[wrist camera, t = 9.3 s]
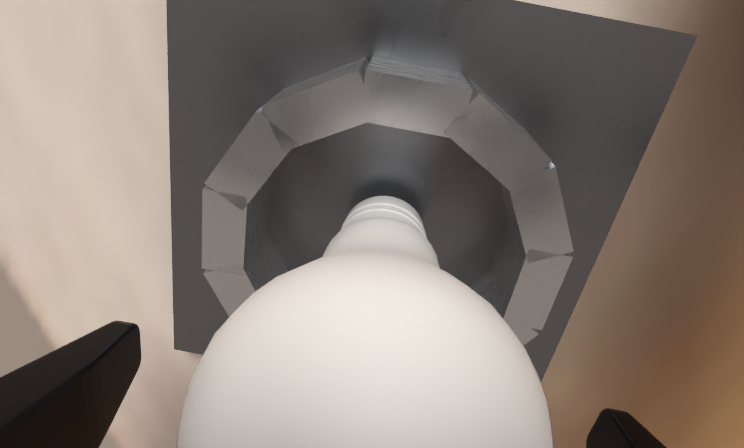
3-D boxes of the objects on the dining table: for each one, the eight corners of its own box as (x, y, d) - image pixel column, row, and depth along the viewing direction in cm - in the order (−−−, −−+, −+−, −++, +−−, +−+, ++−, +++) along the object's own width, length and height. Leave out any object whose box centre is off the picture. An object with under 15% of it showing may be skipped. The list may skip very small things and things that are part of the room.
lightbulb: (280, 277, 17) (100, 705, 7) (304, 107, 14) (56, 421, 4) (449, 313, 17) (509, 775, 7) (507, 153, 14) (740, 554, 4)
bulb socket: (677, 32, 13) (761, 45, 10) (521, 392, 19) (543, 469, 16) (181, -64, 13) (110, -81, 10) (185, 332, 19) (142, 399, 16)
